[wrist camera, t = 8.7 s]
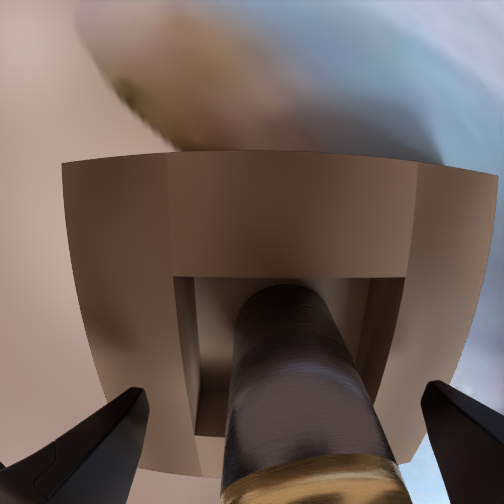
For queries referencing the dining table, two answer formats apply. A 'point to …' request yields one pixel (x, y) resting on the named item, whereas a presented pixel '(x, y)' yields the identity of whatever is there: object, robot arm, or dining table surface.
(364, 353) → the holder block
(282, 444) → the battery cell
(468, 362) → the dining table surface
